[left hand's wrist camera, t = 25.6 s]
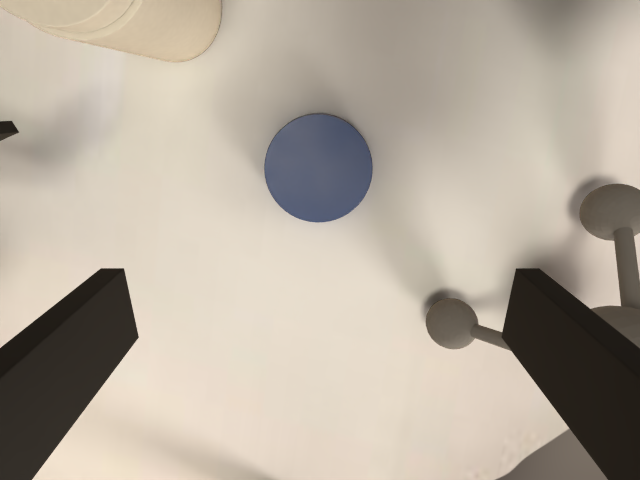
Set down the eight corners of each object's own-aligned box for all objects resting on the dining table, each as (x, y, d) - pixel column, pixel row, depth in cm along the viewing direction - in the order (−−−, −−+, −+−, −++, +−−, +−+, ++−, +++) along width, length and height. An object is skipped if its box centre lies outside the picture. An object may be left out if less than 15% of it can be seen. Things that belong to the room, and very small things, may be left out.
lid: (267, 110, 36) (263, 111, 34) (374, 115, 36) (377, 117, 34) (267, 213, 39) (264, 220, 37) (364, 217, 40) (367, 224, 38)
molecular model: (405, 218, 39) (613, 517, 12) (620, 172, 38) (1483, 392, 10) (431, 387, 48) (589, 797, 20) (608, 355, 46) (1055, 758, 18)
